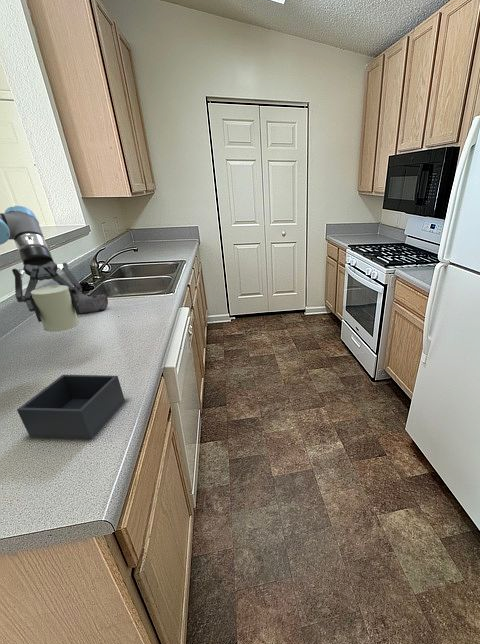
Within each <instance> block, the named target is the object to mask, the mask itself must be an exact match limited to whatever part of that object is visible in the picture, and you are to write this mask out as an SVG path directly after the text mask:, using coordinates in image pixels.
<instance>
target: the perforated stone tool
mask: <svg viewBox="0 0 480 644" xmlns="http://www.w3.org/2000/svg"><path fill="white" fill-rule="evenodd" d="M79 300H80V303H77V305H78V308H79V312H80V314H85V313H89V314H90V313H94V312H98V311H104V310H106V308H108V305H109V299H108V295H107V294H105V293H103V294H95V295H90V296H87V297H82V298H79ZM75 312H76V311H75Z"/></svg>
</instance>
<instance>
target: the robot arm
mask: <svg viewBox="0 0 480 644" xmlns="http://www.w3.org/2000/svg"><path fill="white" fill-rule="evenodd" d="M9 240H10V241H11V240H12V241H13V240H14V243H15V247H16V248H17V251H18V254H19V257H20V259H21V262H22V265H23V268H21V269H17V268H12V269H11V272H12V274H13V276H14V289H15V290H14V292H15V294H14V295H15V299H16V301H17V303H26V306H27V308H28V311H29V312H30V313H31V312H34V313H35V316H36V318H37V322H39V323H40V322H41V323H42V320H41V317H40V315H39V312H38V309H37V307H36V304H35V301H34V299H33V297H32V294H31V291H32V290H35V289H36V287H37V285H38V283H39V282H41V281H45V280H53V281H54V282H56V283H57V284H58V285H65V286H68V289H69V292H70V296H71V299H72V302H73V305H74V308H75V311H76V315H80V314H81V313H80V312H79V308H78V305H77V303H80V300H79V299H80V297H79V295H78V294H79V293H82V292H83V288H82V287H83V286H82V285H81V283H80V282H79V281H78V279H77V278H76V276H75V275H74V274H73V273H72V272H71V270H70V269H69V266H68V263H67V262H63V263H62V264H57V263H56V262H55V261H54V259H53V256H52V254H51V251H50V249H49V246H48V244H47V242H46V239H45V237H44V235H43V231H42V229H41V226H40V222H39V220H38V218H37V217H36V215H35V213H34V212H33V210H31V209H30V208H29V207H26V206H23V205H14V206H9V207H7V208H6V209H5V211H4V212H3V213H2V212H0V246H1V245H3V244H5V243H7V242H8V241H9ZM58 270H60V271H61V273H64V275H65V276H66V278H67V279H68V280H69V282H68V281H67V280H66V279H64V278H63V277H62V276H61V275H59V274H58V272H57V271H58ZM24 274H26V275H27V276H29V281H28V282H27V283H28V284H27V287H26V290H25V292H24V293H23V278H24ZM70 283H71V284H70ZM23 294H24V295H23Z"/></svg>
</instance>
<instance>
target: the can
mask: <svg viewBox="0 0 480 644" xmlns="http://www.w3.org/2000/svg"><path fill="white" fill-rule="evenodd" d="M31 294H32V298H33V299H34V301H35V304H36V307H37V309H38V312H39V315H40V317H41V320H42V322H41V323H42V327H43V330H44V331H45V332H52V333H54V332H55V333H57V332H62V331H67V330H71V329H74V328H76V327H77V326H79V325H80V323H81V322H80V320H79V317H78V314H77V313H76V312H75V308H74V305H73V302H72V299H71V296H70V292H69V289H68V286H65V285H60V284H56V285H47V286H42V287H37V288H35V290H32V291H31Z"/></svg>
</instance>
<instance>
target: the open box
mask: <svg viewBox="0 0 480 644" xmlns="http://www.w3.org/2000/svg"><path fill="white" fill-rule="evenodd" d="M125 402H126V399H125V395H124V393H123V389H122V386H121V383H120V379H119V376H118V375H106V374H105V375H104V374H103V375H102V374H100V375H99V374H61V375H60V376H59V377H58V378H56V379H55V380H54V381H52V382H51V383H50V384H49V385H47V386H46V387H44V388H43V389H42V390H41V391H39V392H38V393H37V394H35V395H34V396H33V397H31V398H30V399H29V400H28V401H26V402H25V403H23V404H22V405H21V406H20V407H18V408H17V409H16V412H17V413H18V415H19V418H20V419H21V421H22V422H21V423H22V424H23V426H24V428H25V430H26V432H27V434H28V436H29V438H30V439H57V440H58V439H59V440H60V439H61V440H63V439H65V440H67V439H68V440H93V439H94V438H95V436H96V435H97V434H98V433H99V432H100V430H102V428H103V427H104V426H105V425H106V424H107V423H108V422H109V421H110V419H111V418H112V417H113V416H114V415H115V414H116V412H117V411H118V410H119V409H120V408H121V407H122V405H123V404H124V403H125Z"/></svg>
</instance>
